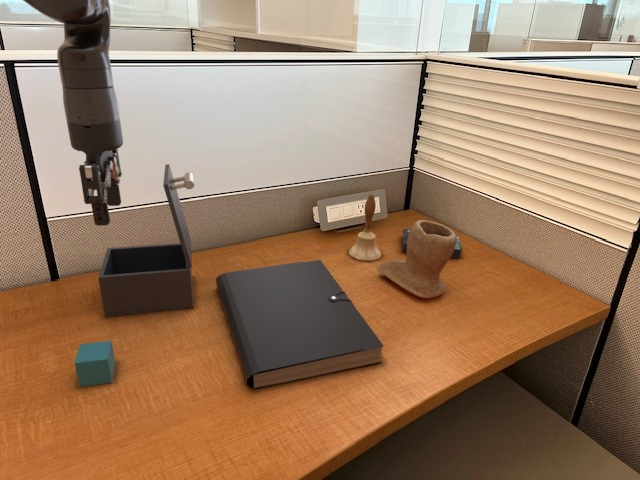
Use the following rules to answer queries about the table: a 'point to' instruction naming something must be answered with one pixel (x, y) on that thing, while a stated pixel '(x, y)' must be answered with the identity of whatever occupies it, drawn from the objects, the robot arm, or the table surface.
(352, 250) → the hand bell
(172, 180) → the bin lid
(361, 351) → the dark grey notebook
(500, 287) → the table surface
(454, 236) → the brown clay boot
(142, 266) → the bin
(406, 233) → the disk drive
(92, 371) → the block
